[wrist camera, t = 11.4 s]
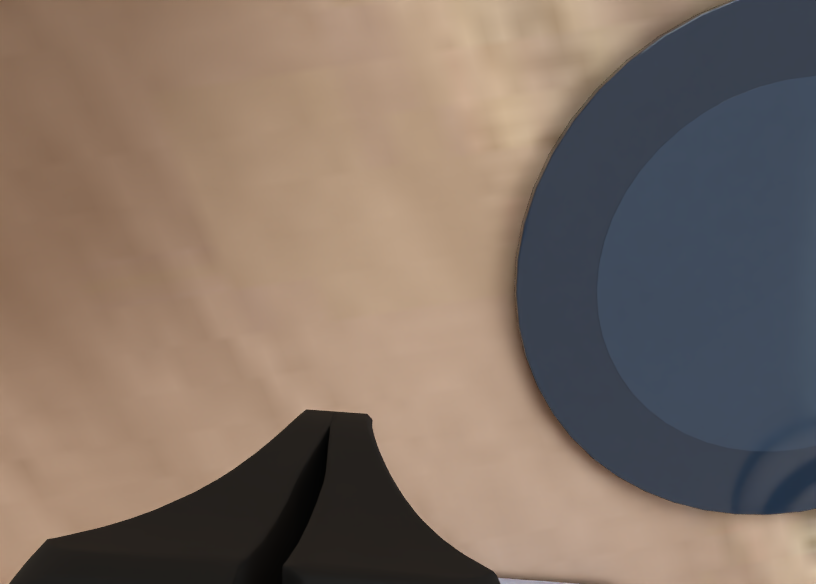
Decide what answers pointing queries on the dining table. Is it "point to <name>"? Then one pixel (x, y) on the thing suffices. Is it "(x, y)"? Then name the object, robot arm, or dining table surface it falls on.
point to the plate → (686, 264)
